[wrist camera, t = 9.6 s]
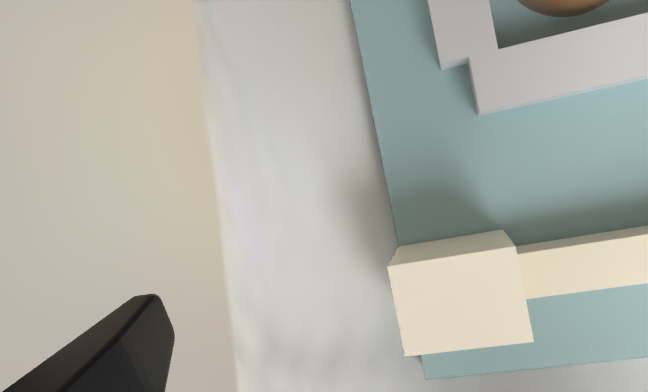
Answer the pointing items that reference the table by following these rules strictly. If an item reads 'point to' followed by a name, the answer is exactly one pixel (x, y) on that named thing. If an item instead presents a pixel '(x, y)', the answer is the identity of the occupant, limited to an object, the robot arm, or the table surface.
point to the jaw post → (562, 6)
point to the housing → (516, 149)
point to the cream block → (501, 284)
